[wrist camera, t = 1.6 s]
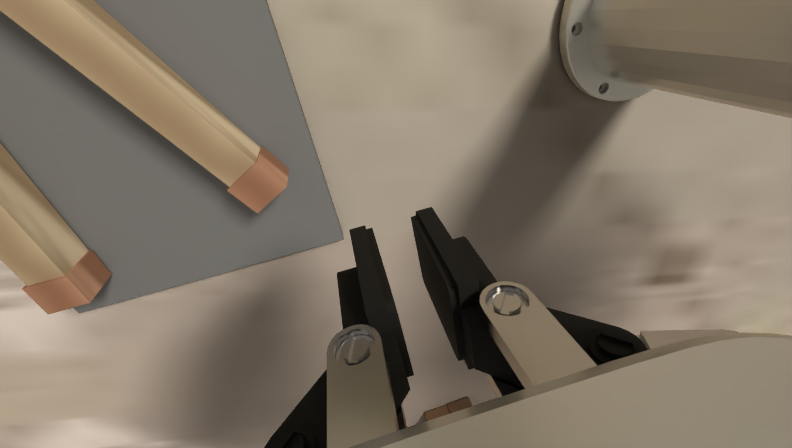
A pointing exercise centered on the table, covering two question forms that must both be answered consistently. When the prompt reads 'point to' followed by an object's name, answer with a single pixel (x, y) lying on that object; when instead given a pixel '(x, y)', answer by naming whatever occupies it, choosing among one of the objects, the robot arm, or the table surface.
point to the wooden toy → (448, 408)
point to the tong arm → (152, 93)
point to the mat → (165, 148)
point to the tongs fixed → (43, 245)
